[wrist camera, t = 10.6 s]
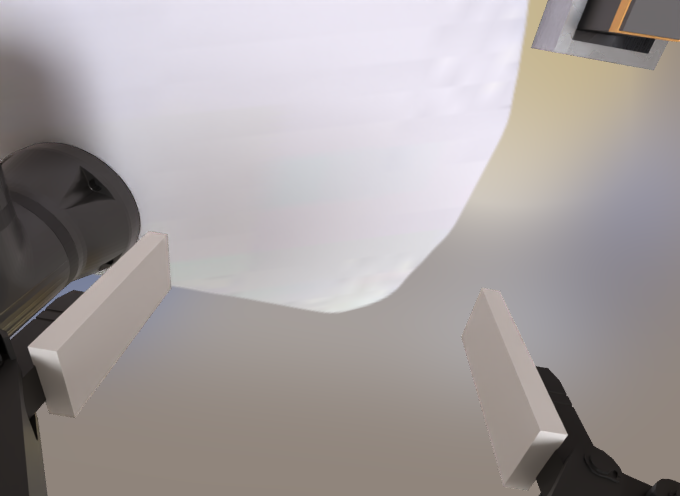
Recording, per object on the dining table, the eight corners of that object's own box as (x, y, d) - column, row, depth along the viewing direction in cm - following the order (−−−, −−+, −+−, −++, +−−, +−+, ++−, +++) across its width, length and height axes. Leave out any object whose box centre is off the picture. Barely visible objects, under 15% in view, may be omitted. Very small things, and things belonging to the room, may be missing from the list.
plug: (584, -32, 31) (655, -49, 23) (636, -24, 31) (724, -38, 24) (562, 28, 33) (620, 32, 26) (611, 36, 33) (684, 42, 26)
